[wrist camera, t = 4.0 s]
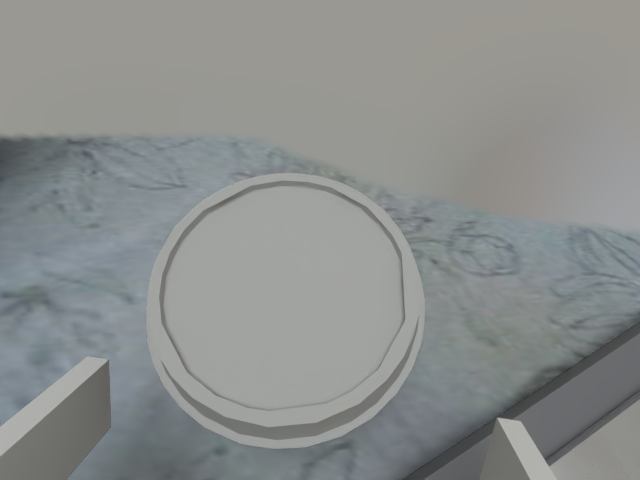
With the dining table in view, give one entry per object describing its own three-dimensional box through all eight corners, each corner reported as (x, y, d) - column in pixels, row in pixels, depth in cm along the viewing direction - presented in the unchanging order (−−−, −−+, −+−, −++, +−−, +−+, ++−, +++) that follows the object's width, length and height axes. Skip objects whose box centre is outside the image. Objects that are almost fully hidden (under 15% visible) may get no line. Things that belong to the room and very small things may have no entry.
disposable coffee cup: (319, 492, 19) (332, 539, 9) (181, 383, 21) (60, 316, 11) (403, 337, 23) (482, 242, 13) (279, 260, 26) (259, 127, 15)
